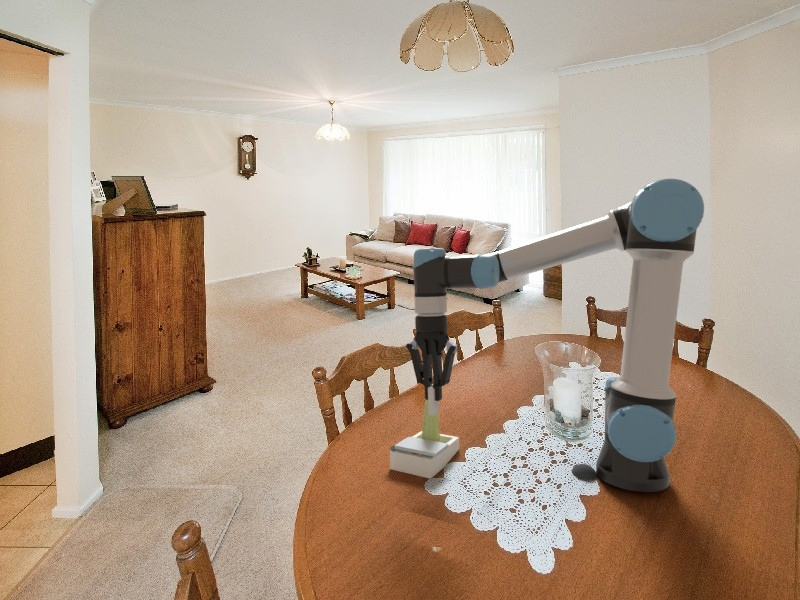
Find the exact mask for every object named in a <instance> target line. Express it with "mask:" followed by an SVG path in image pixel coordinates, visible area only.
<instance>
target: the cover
mask: <svg viewBox="0 0 800 600" xmlns="http://www.w3.org/2000/svg"><path fill="white" fill-rule="evenodd" d="M448 447H449V446H448V444H447V443H442V442H436V441H431V440H425V439H420V438H415V437H413V436H407V437H405V438H403V439H402V440H400V441H399V442H397V443H395V444H393V445H391V447H390V451H394V450H395V449H399V450H404V451H409V452H413V454H417V455H421V454H423V455H428V456H433V457H436V456H438V455H439V454H440V453H442V452H443V451H444V450H445V449H447V448H448Z"/></svg>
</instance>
